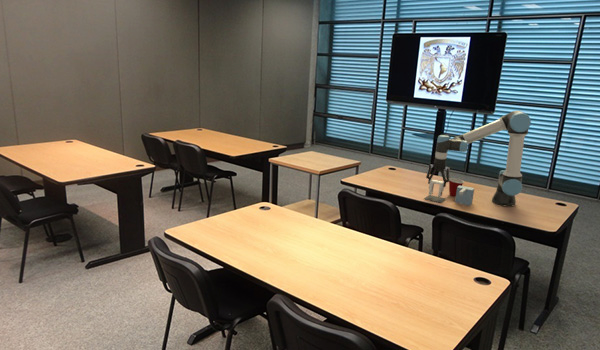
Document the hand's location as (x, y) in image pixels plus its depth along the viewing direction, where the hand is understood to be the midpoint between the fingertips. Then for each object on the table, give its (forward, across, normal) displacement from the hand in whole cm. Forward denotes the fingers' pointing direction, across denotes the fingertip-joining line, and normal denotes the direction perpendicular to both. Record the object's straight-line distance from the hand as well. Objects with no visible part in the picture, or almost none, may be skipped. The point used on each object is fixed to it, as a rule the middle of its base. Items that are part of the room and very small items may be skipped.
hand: (436, 189), depth 300 cm
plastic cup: (+7, -8, -19) cm, 22 cm away
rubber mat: (+7, 0, 0) cm, 7 cm away
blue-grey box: (+7, -18, -1) cm, 19 cm away
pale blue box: (+4, 0, 0) cm, 4 cm away
